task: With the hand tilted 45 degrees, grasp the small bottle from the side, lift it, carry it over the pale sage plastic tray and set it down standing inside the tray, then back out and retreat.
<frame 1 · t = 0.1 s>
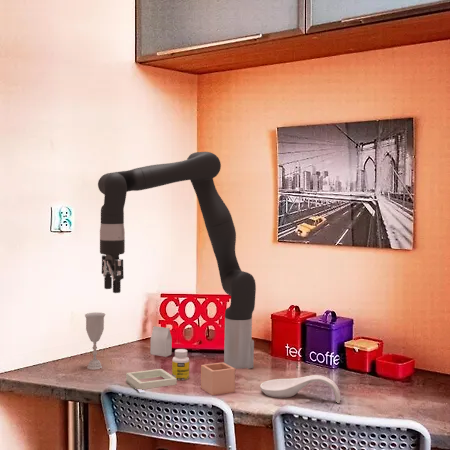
hand: (112, 290, 209), 29 cm above the kitchen counter, tool pointing down, fingers open, 8 cm apart
tray: (151, 384, 210), on the kitchen counter
tea bag: (160, 354, 247), on the kitchen counter
spoon rest: (299, 399, 200), on the kitchen counter
tan open box: (217, 393, 203), on the kitchen counter
supplement bottle: (180, 381, 215), on the kitchen counter
chalice: (94, 367, 229), on the kitchen counter
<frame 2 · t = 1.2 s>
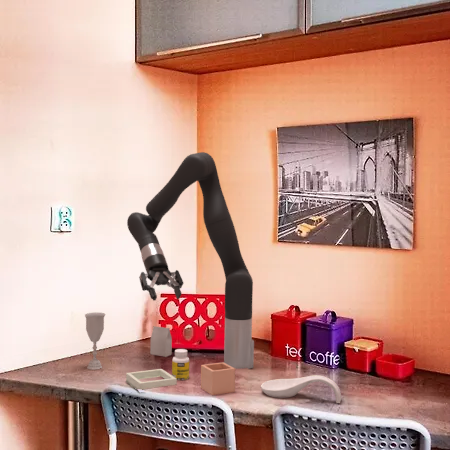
hand: (167, 298, 223), 25 cm above the kitchen counter, tool tilted 45°, fingers open, 8 cm apart
nothing on the kitchen counter moved.
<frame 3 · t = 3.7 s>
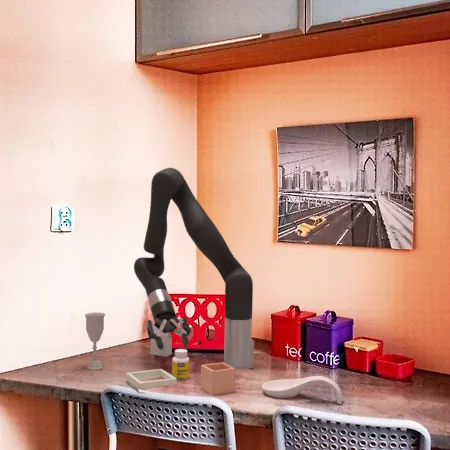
hand: (174, 347, 219), 10 cm above the kitchen counter, tool tilted 45°, fingers open, 8 cm apart
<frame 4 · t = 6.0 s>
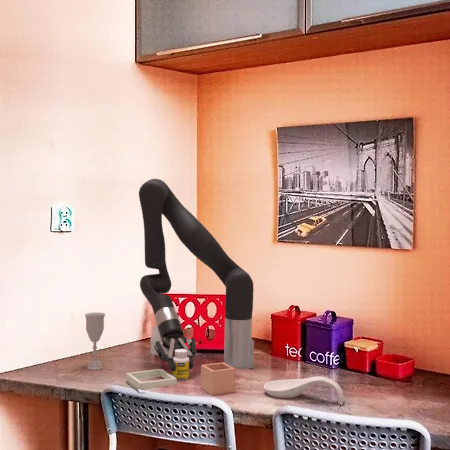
hand: (183, 369, 213), 4 cm above the kitchen counter, tool tilted 45°, fingers closed on supplement bottle, 5 cm apart
supplement bottle: (180, 381, 215), on the kitchen counter, touching gripper
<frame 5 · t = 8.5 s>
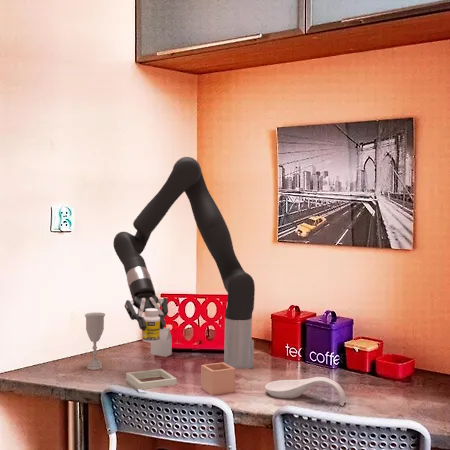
hand: (153, 328, 208), 18 cm above the kitchen counter, tool tilted 45°, fingers closed on supplement bottle, 5 cm apart
supplement bottle: (151, 341, 210), point 14 cm above the kitchen counter, touching gripper
when the fingers open (7 cm above the kitchen counter, at t = 11.0 s): supplement bottle drops 1 cm, resting on tray.
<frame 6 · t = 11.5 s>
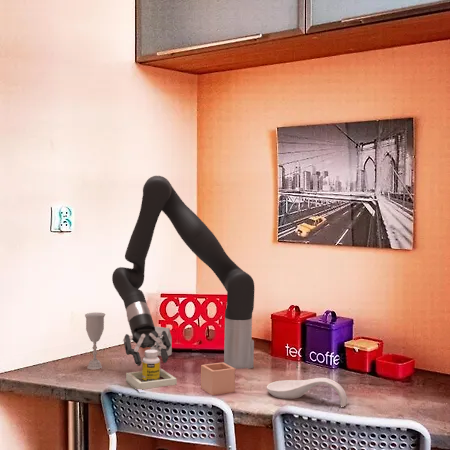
hand: (152, 363, 209), 7 cm above the kitchen counter, tool tilted 45°, fingers open, 8 cm apart
supplement bottle: (150, 382, 210), point 1 cm above the kitchen counter, touching tray
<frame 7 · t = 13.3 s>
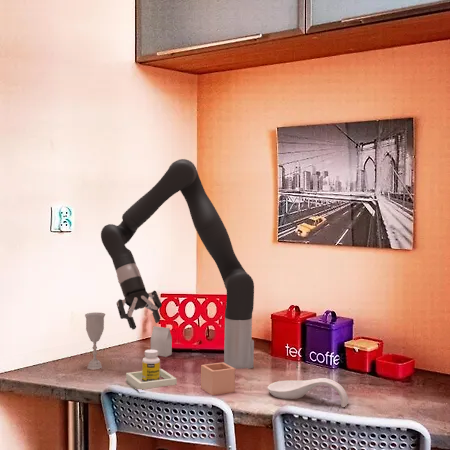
hand: (146, 325, 221), 16 cm above the kitchen counter, tool tilted 30°, fingers open, 8 cm apart
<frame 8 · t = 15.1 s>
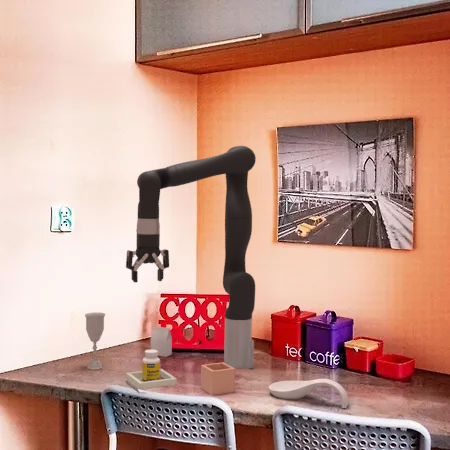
hand: (147, 281, 223), 30 cm above the kitchen counter, tool pointing down, fingers open, 8 cm apart
at the end: supplement bottle inside the target area on the tray (0.2 cm from its centre), point 0.6 cm above the tray's base; supplement bottle tilted 0°; the gripper is holding nothing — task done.
